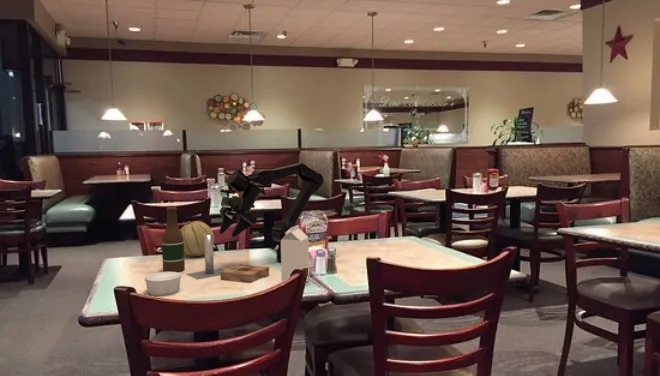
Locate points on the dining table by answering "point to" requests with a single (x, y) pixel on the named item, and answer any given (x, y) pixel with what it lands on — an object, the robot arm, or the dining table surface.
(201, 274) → the rubber mat
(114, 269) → the dining table surface
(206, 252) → the steel pin
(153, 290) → the ramekin
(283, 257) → the milk carton
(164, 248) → the beer bottle
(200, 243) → the cantaloupe
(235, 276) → the socket block
